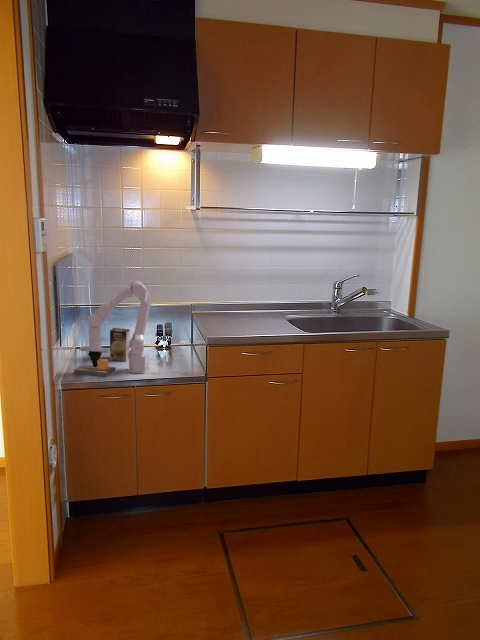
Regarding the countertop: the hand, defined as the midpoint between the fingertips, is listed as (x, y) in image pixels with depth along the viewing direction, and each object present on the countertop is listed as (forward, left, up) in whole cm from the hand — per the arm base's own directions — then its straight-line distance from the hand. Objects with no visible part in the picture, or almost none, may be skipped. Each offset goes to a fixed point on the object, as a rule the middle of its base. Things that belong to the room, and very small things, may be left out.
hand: (95, 366), depth 242 cm
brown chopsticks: (+1, -6, -3) cm, 7 cm away
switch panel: (+1, 0, -3) cm, 3 cm away
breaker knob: (-4, 0, -1) cm, 4 cm away
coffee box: (-2, -24, -3) cm, 24 cm away
